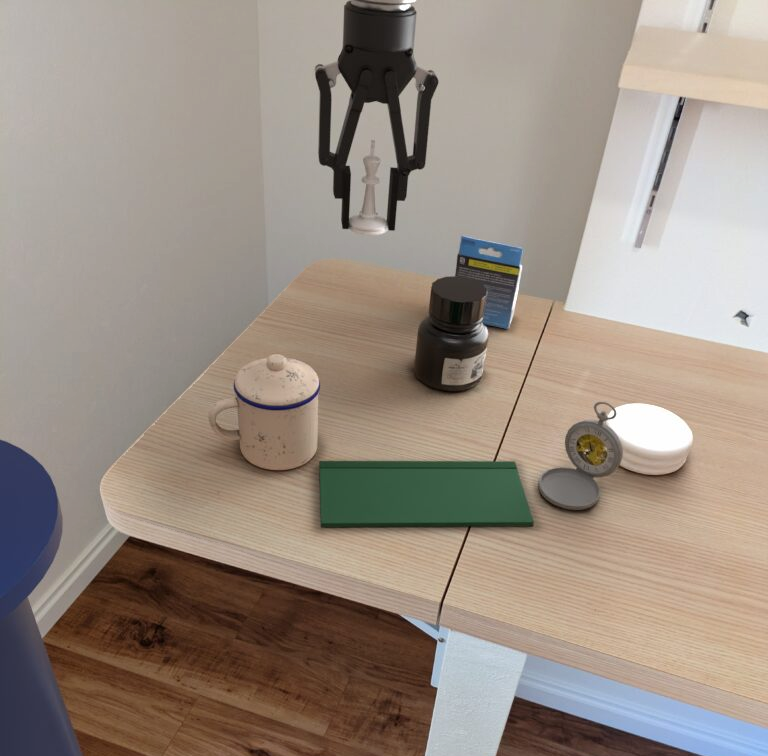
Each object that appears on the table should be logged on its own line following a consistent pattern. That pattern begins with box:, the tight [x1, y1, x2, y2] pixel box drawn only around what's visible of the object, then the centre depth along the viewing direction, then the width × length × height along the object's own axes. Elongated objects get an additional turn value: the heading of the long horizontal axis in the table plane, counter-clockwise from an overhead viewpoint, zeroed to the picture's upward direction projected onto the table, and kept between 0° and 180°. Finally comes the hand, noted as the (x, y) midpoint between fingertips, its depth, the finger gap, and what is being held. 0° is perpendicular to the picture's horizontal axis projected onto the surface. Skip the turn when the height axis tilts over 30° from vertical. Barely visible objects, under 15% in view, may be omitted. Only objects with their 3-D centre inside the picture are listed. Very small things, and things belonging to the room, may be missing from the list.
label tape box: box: [454, 234, 524, 330], centre depth 111 cm, size 9×4×12 cm, turn 72°
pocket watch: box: [538, 401, 623, 511], centre depth 85 cm, size 8×8×10 cm
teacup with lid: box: [208, 353, 321, 471], centre depth 86 cm, size 12×9×12 cm
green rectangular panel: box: [318, 460, 535, 528], centre depth 85 cm, size 22×10×1 cm, turn 94°
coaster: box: [603, 403, 694, 476], centre depth 93 cm, size 10×10×4 cm
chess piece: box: [348, 139, 389, 236], centre depth 94 cm, size 5×5×10 cm
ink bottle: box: [413, 275, 490, 392], centre depth 100 cm, size 10×9×12 cm
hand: (367, 224), depth 97 cm, fingers closed on chess piece, 5 cm apart
